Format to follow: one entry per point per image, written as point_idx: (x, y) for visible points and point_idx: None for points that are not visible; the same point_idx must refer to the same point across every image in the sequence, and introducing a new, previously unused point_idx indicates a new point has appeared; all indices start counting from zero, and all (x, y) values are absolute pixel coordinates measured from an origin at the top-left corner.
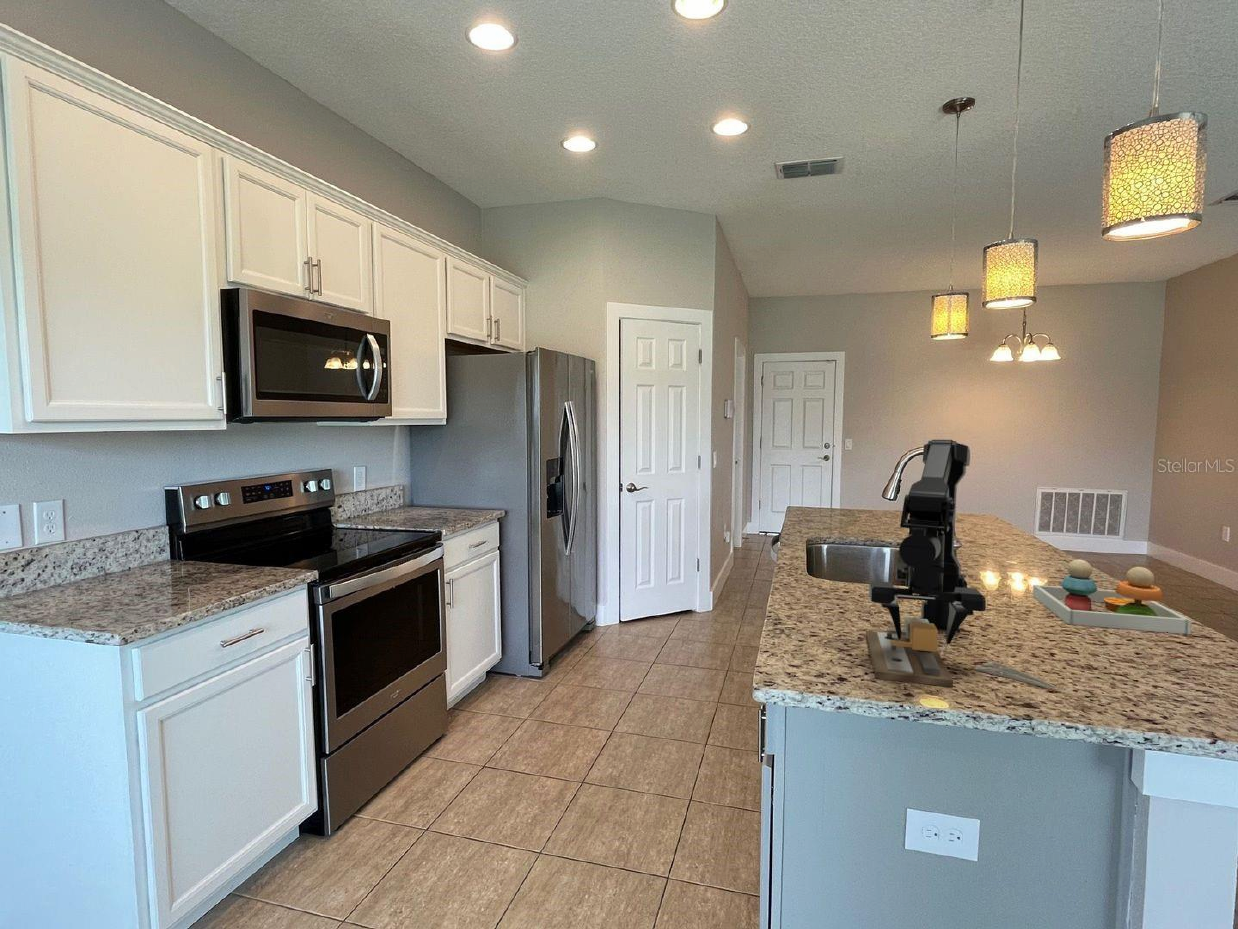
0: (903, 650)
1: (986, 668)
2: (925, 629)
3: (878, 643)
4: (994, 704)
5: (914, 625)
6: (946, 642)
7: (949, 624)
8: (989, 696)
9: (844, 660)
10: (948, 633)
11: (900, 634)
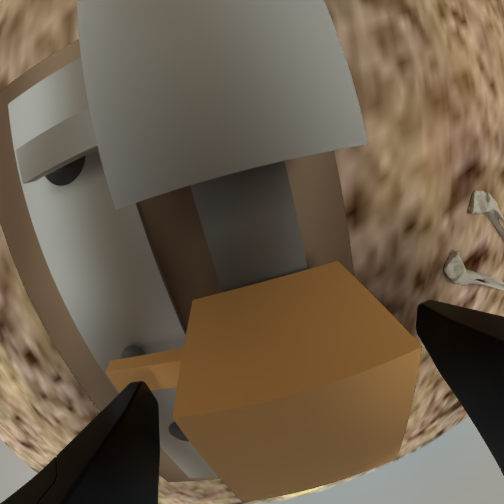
0: (176, 330)
1: (473, 283)
2: (320, 485)
3: (46, 263)
4: (409, 437)
5: (238, 476)
6: (418, 315)
7: (498, 396)
8: (415, 417)
9: (51, 402)
10: (454, 380)
11: (156, 439)
